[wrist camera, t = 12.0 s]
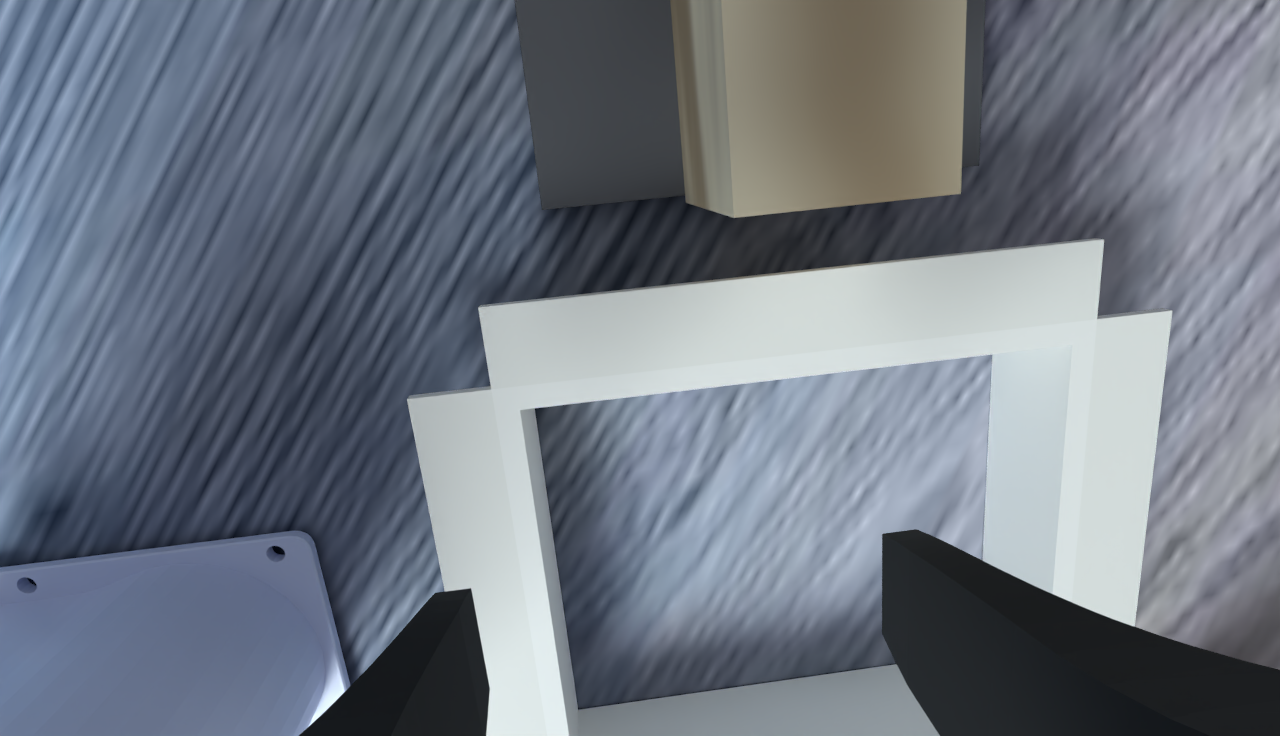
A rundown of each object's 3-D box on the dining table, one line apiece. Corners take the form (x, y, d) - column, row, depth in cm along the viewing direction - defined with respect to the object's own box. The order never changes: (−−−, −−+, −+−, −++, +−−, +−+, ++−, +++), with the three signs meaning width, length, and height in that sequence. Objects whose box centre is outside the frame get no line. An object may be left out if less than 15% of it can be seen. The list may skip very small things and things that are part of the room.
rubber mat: (542, 208, 19) (542, 210, 19) (492, -178, 17) (489, -191, 16) (967, 165, 20) (979, 165, 19) (980, -212, 17) (994, -225, 17)
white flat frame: (512, 782, 24) (501, 879, 21) (422, 291, 20) (390, 317, 16) (1044, 703, 25) (1115, 784, 22) (1083, 220, 21) (1181, 230, 17)
